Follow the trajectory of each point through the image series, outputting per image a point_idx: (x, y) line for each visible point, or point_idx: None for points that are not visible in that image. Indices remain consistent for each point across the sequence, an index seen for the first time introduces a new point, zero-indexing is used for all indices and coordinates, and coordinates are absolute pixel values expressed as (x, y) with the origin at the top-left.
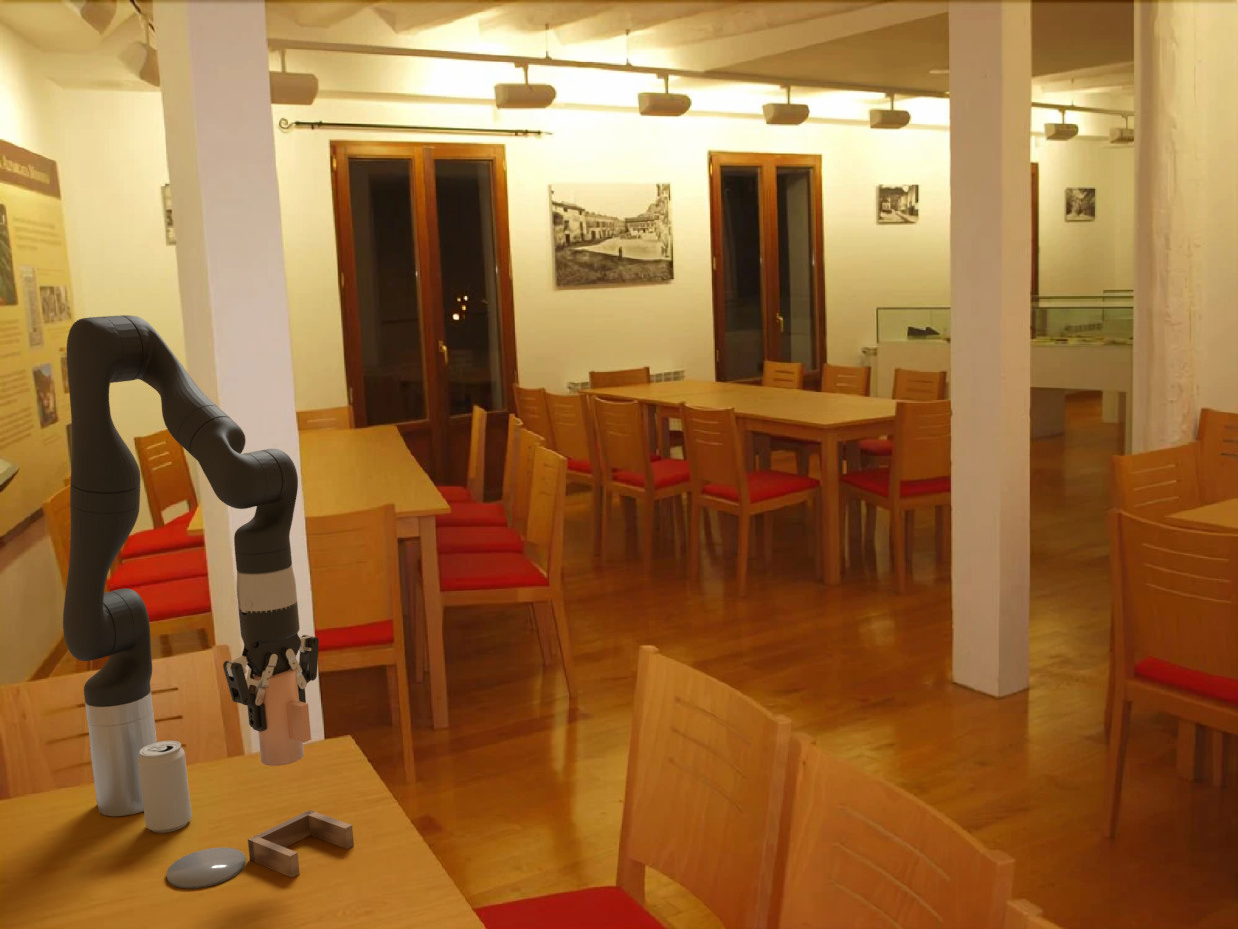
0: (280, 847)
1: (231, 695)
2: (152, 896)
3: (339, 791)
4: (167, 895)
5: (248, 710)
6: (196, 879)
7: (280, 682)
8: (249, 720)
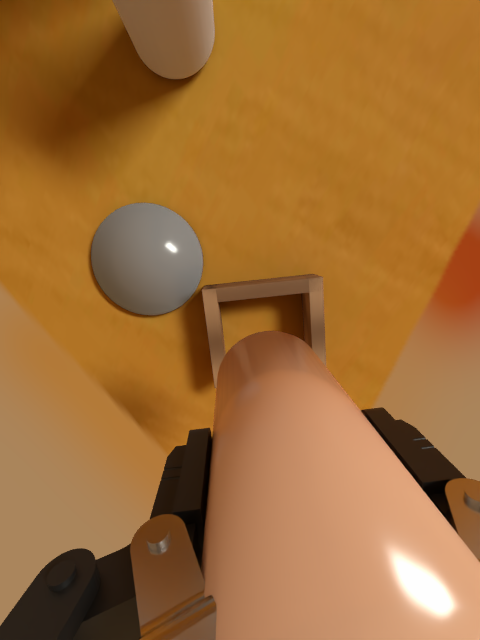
0: (220, 354)
1: (12, 615)
2: (63, 270)
3: (428, 183)
4: (79, 285)
5: (155, 508)
6: (119, 289)
7: None
8: (165, 471)
